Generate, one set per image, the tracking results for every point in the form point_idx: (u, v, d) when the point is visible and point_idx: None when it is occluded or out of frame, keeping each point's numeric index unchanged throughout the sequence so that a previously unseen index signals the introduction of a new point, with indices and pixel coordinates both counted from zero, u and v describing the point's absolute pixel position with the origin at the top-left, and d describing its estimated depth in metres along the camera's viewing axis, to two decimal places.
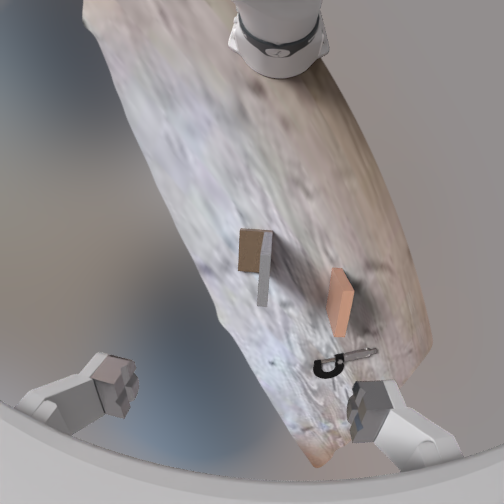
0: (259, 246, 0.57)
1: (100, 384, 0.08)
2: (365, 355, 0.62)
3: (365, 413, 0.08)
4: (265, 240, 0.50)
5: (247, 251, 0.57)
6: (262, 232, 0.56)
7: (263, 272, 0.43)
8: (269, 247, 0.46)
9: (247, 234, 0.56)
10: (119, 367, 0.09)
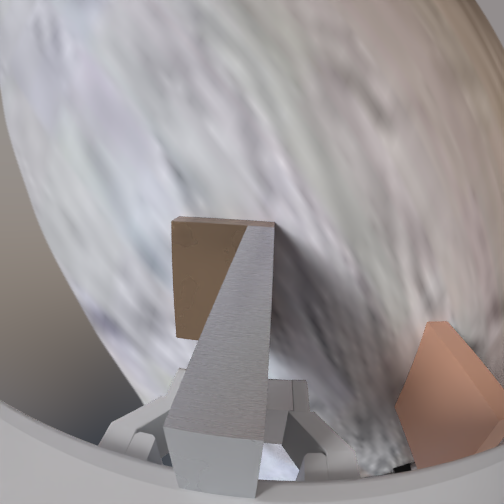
0: None
1: None
2: None
3: None
4: (244, 260, 0.11)
5: (197, 286, 0.19)
6: (242, 227, 0.17)
7: None
8: (260, 314, 0.07)
9: (195, 233, 0.18)
10: None
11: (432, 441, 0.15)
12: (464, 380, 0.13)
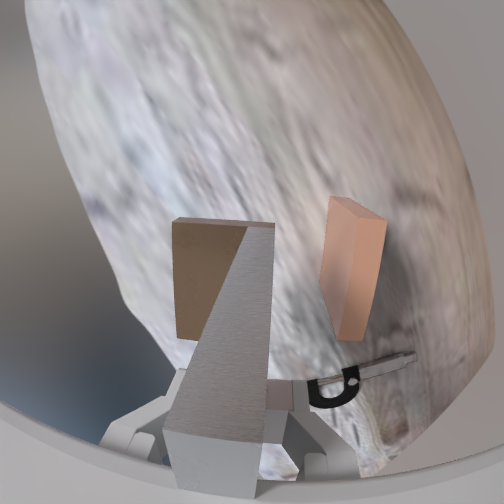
0: None
1: None
2: (398, 366, 0.32)
3: None
4: (244, 261, 0.11)
5: (198, 287, 0.19)
6: (242, 228, 0.17)
7: None
8: (259, 317, 0.07)
9: (196, 234, 0.18)
10: None
11: (334, 281, 0.24)
12: (343, 212, 0.22)
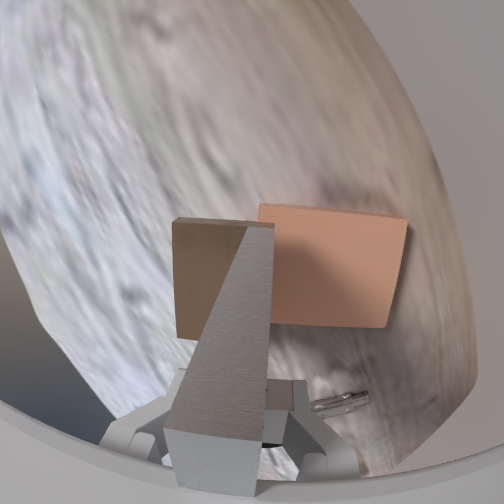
0: None
1: None
2: (343, 410, 0.26)
3: None
4: (244, 261, 0.11)
5: (198, 287, 0.19)
6: (242, 228, 0.17)
7: None
8: (259, 316, 0.07)
9: (196, 234, 0.18)
10: None
11: (347, 292, 0.22)
12: (353, 220, 0.21)
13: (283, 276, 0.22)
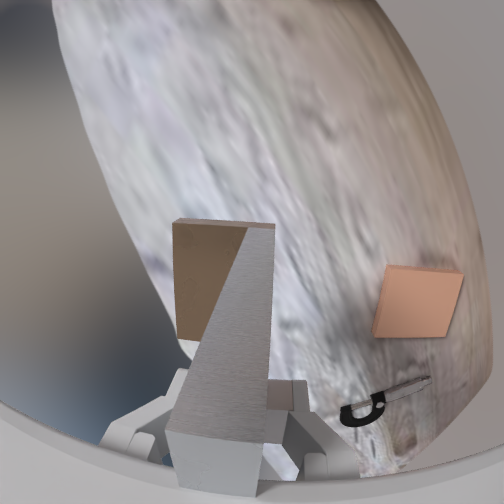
0: None
1: None
2: (416, 389, 0.36)
3: None
4: (245, 263, 0.11)
5: (198, 287, 0.19)
6: (242, 229, 0.17)
7: None
8: (260, 318, 0.08)
9: (196, 235, 0.18)
10: None
11: (428, 316, 0.33)
12: (437, 276, 0.32)
13: (397, 309, 0.33)
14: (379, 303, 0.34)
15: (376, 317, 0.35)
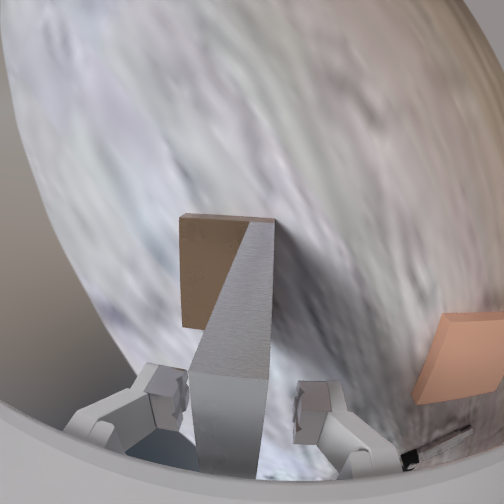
0: None
1: (156, 398, 0.08)
2: (455, 444, 0.24)
3: (300, 414, 0.08)
4: (248, 250, 0.13)
5: (203, 278, 0.20)
6: (244, 223, 0.19)
7: (220, 451, 0.06)
8: (263, 292, 0.09)
9: (202, 228, 0.19)
10: (174, 378, 0.09)
11: (483, 373, 0.21)
12: (502, 324, 0.19)
13: (449, 370, 0.21)
14: (427, 363, 0.22)
15: (420, 380, 0.23)
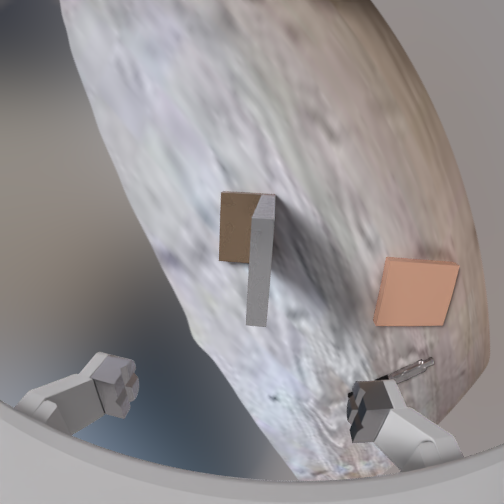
0: None
1: (100, 384, 0.08)
2: (419, 371, 0.39)
3: (365, 413, 0.08)
4: (263, 202, 0.27)
5: (233, 228, 0.35)
6: (258, 196, 0.33)
7: (258, 256, 0.21)
8: (271, 209, 0.24)
9: (234, 199, 0.34)
10: (119, 367, 0.09)
11: (426, 306, 0.35)
12: (434, 267, 0.34)
13: (396, 299, 0.35)
14: (380, 293, 0.37)
15: (377, 306, 0.37)
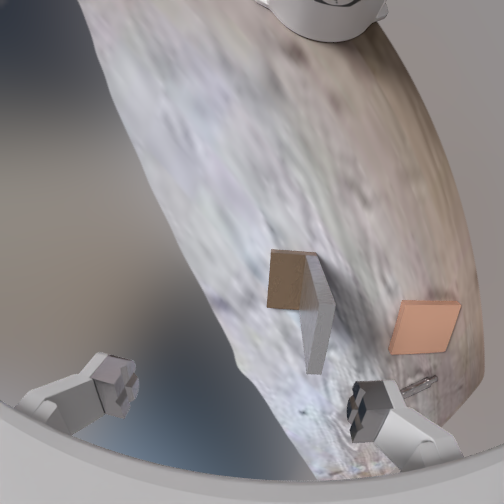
0: (297, 275, 0.40)
1: (100, 384, 0.08)
2: (425, 387, 0.45)
3: (365, 413, 0.08)
4: (314, 271, 0.33)
5: (280, 281, 0.41)
6: (303, 255, 0.39)
7: (321, 329, 0.27)
8: (326, 286, 0.30)
9: (282, 258, 0.40)
10: (119, 367, 0.09)
11: (432, 337, 0.41)
12: (440, 307, 0.40)
13: (408, 333, 0.42)
14: (395, 329, 0.43)
15: (392, 339, 0.43)
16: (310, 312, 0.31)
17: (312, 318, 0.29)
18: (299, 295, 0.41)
